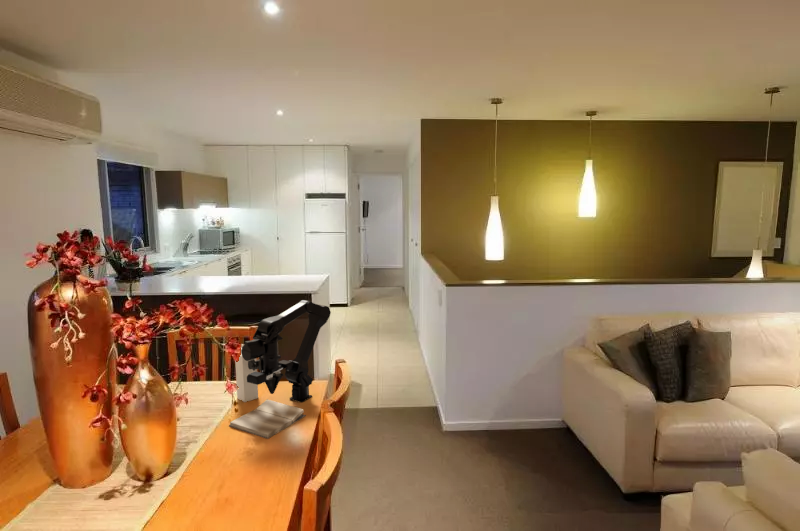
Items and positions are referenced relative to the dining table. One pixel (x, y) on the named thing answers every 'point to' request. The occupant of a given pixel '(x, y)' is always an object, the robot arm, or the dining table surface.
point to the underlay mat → (275, 433)
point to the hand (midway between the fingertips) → (272, 393)
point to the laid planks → (261, 423)
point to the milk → (245, 380)
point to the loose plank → (280, 410)
